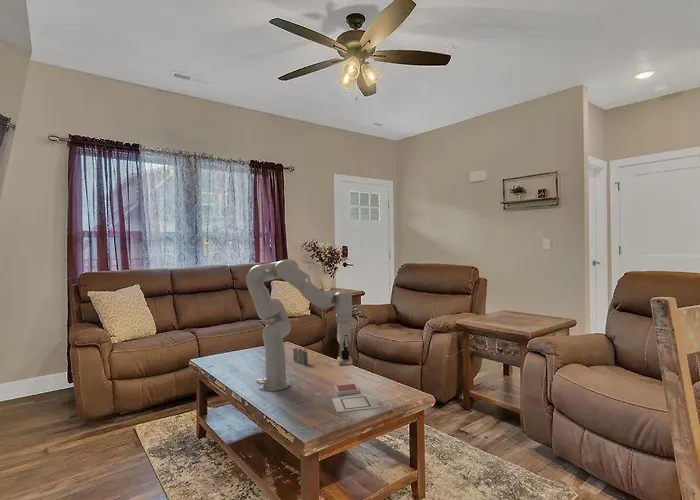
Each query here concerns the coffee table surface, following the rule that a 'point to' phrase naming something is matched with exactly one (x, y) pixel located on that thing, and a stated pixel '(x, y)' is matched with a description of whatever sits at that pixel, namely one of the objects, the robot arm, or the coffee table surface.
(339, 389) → the ink pad
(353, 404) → the marked card
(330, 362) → the coffee table surface
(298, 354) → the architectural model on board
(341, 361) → the stamp
